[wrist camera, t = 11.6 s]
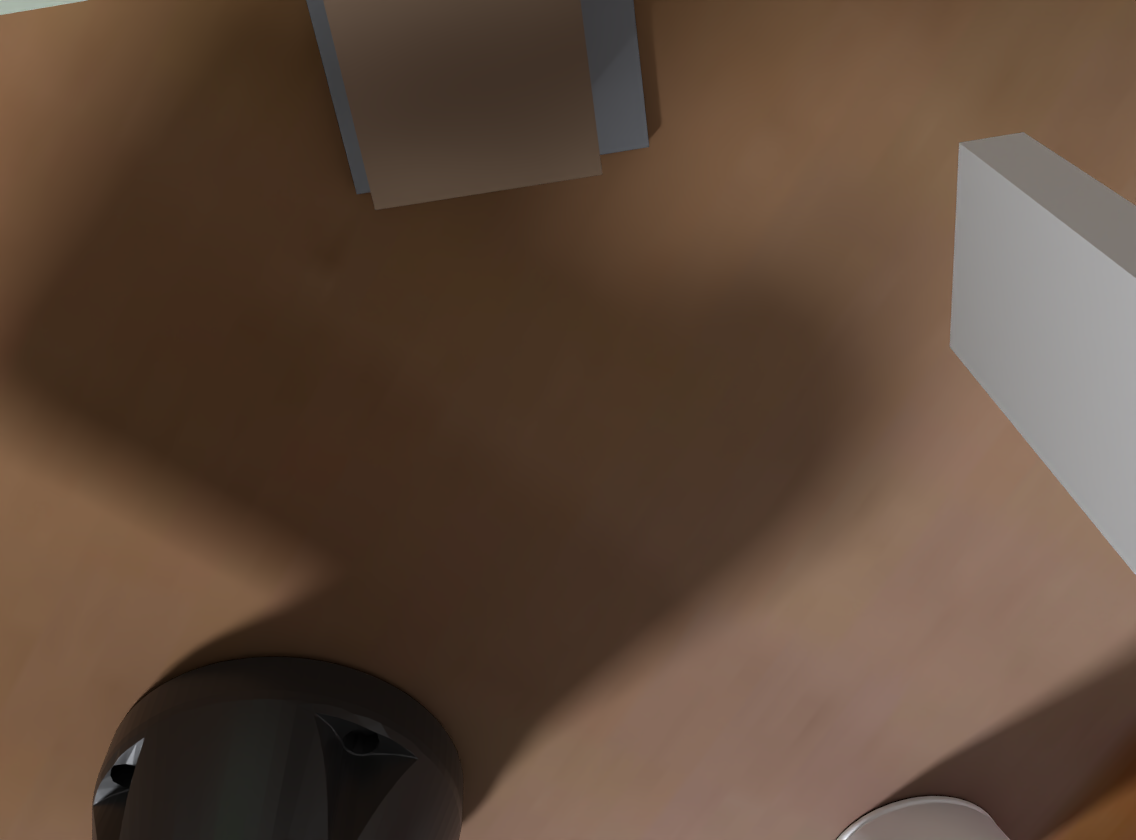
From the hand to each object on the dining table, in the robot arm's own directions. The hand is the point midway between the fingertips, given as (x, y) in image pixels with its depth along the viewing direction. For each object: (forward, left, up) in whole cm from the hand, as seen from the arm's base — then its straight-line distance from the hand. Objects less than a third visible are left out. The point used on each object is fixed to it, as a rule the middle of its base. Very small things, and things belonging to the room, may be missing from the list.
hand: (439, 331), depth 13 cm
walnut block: (0, 0, -20) cm, 20 cm away
